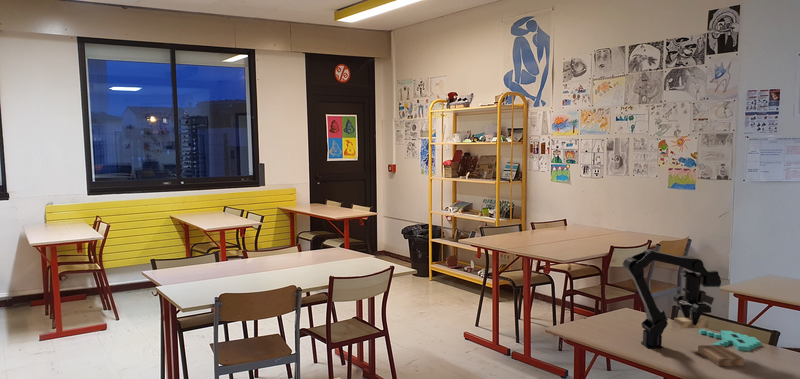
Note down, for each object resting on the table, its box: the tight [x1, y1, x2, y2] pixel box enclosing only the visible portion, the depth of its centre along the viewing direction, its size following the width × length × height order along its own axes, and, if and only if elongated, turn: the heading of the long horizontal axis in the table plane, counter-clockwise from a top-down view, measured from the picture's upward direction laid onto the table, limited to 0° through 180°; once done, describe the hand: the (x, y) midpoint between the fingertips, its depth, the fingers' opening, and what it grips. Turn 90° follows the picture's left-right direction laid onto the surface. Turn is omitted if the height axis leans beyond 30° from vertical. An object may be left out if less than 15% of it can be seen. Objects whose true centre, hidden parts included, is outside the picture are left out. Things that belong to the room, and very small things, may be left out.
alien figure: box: [698, 328, 762, 352], centre depth 238 cm, size 20×2×20 cm
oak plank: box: [673, 316, 709, 329], centre depth 232 cm, size 12×5×3 cm, turn 96°
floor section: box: [697, 344, 745, 367], centre depth 219 cm, size 10×14×3 cm
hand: (691, 323), depth 232 cm, fingers closed on oak plank, 5 cm apart
